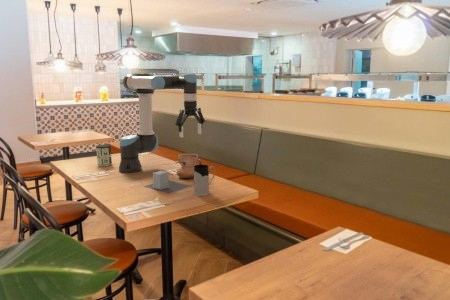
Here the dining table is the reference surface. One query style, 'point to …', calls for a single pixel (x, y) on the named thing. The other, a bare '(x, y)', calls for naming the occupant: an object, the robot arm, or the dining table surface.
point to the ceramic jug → (187, 165)
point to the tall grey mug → (202, 180)
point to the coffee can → (103, 155)
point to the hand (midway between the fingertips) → (190, 135)
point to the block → (160, 180)
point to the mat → (171, 187)
